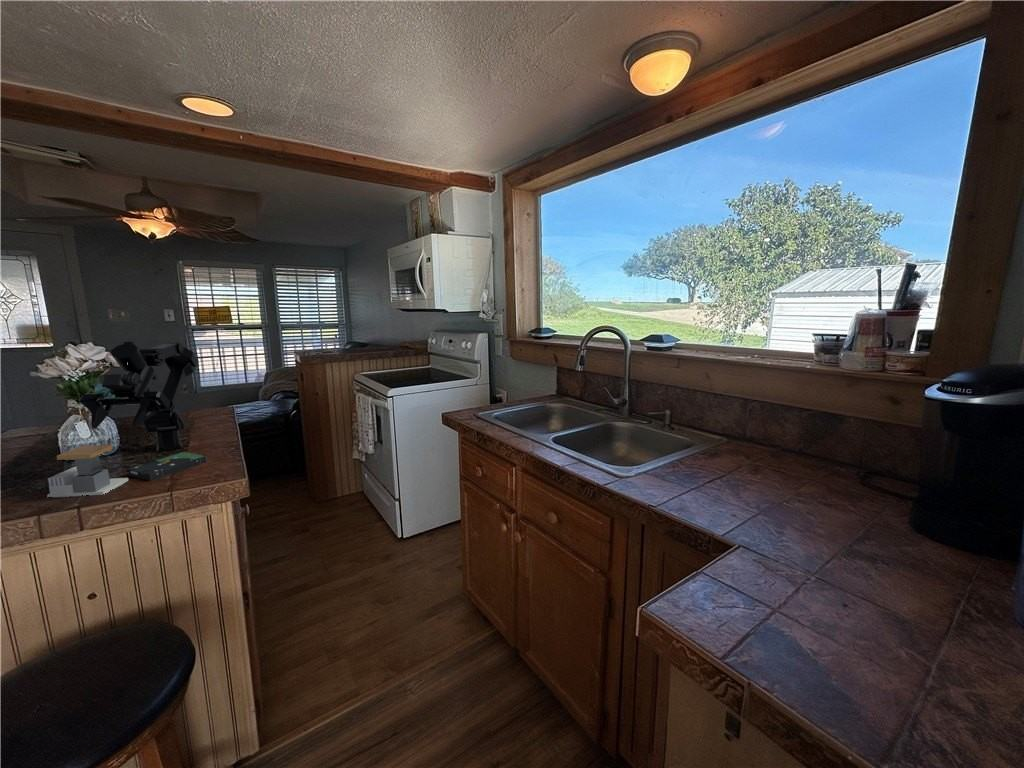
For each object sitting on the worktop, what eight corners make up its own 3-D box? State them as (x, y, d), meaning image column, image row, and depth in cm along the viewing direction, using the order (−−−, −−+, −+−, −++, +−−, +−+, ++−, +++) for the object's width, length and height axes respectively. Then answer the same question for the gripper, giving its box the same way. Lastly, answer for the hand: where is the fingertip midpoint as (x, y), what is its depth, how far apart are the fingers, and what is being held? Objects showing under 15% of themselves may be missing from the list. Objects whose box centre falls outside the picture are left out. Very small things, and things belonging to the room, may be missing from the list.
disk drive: (152, 483, 111) (208, 463, 125) (150, 473, 111) (207, 454, 124) (128, 477, 115) (185, 458, 128) (126, 468, 114) (183, 450, 128)
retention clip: (85, 468, 107) (81, 446, 106) (116, 466, 108) (112, 444, 107) (61, 479, 100) (56, 455, 99) (94, 477, 101) (89, 454, 100)
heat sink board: (77, 483, 109) (73, 466, 109) (128, 480, 111) (125, 463, 110) (47, 497, 101) (43, 479, 100) (103, 494, 103) (99, 476, 102)
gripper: (80, 364, 112) (49, 411, 102) (159, 362, 116) (137, 407, 106) (105, 390, 120) (79, 435, 111) (178, 387, 124) (160, 430, 115)
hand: (113, 426), depth 110 cm, fingers open, 9 cm apart
